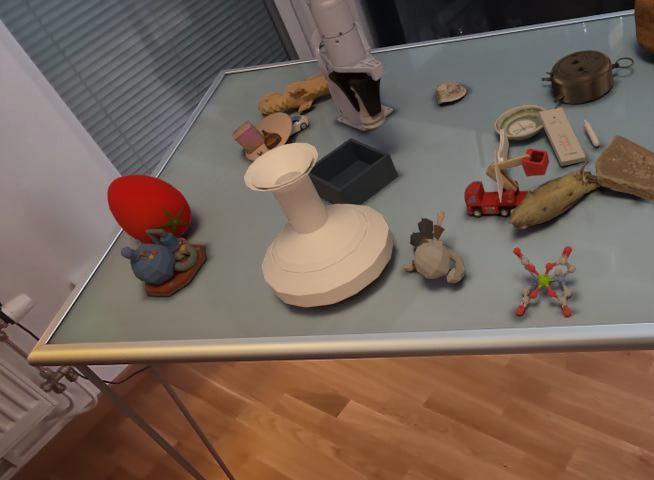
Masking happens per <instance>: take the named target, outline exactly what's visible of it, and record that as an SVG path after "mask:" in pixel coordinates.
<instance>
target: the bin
mask: <svg viewBox="0 0 654 480" xmlns="http://www.w3.org/2000/svg"><path fill="white" fill-rule="evenodd" d="M308 175H309V177H310V179H311V181H312V183H313V185H314V187H315V189H316V191H317V193H318V195H319V197H320V199H323V200H324V201H326V202H328V203H331V205H333V204H353V205H363V204H364V203H365V202H366V201H368V200H369V199H370V198H372V197H373V196H374V195H375V194H377V193H378V192H379V191H381V190H383V188H385V187H386V186H387V185H389V184H391V182H393V180H395V179H396V178H398V177H399V175H398V172H397V170H396V166H395V164H394V161H393V159H392V156H391V154H390V153H389V152H386V151H383V150H381V149H379V148H376V147H374V146H372V145H369V144H367V143H364V142H362V141H360V140H358V139H355V138H353V137H350V138H349V139H347V140H346V141H344V142H343V143H341V144H340V145H339V146H337V147H336V148H334V149H333V150H331V151H330V152H329V153H327V154H325V156H322V158H320V159H319V160H318V161H316V163H315V165H314V166H313V168H312V170H311V171H310V173H309V174H308Z"/></svg>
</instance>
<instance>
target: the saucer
mask: <svg viewBox="0 0 654 480" xmlns="http://www.w3.org/2000/svg"><path fill="white" fill-rule="evenodd" d="M546 110H547V109H546V108H545V107H543V106H540V105H538V104H537V105H536V104H523V105H518V106H515V107H512V108H509V109H507V110H506V111H504V112H502V113H501V114H499V116H498V117H497V118H496V119H495V121H494V123H493V130H494V132H495V133H496V134H497V135H498V136H500V130H501V129H505V131H506V134H507V138H508V140H510V141H511V140H512V141H525V140H528V139H530V138H533V136H536V135H537V134H538V133H539V132H541V131H542V130H543V129H544V127H543V125H542V123H541V120H540V118H539V112H541V111H546Z"/></svg>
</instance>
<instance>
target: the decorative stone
mask: <svg viewBox="0 0 654 480" xmlns="http://www.w3.org/2000/svg"><path fill="white" fill-rule="evenodd" d="M594 168H595V174H596V175H595V176H597V177H596V178H597V181H598V183H599V184H600V185H602V186H601V187H603V188H608V189H610V190H612V191H615V192H620V193H626V194H630V195H634V196H635V197H639V198H641V199H644V200H648V201H652V202H654V152H653V151H651V150H649V149H647V147H644V146H641V145H640V144H638V143H636V142H634V141H632V140H631V139H628V138H626V137H623V136H621V135H618V134H617V135H615V136H614V137H613V138H612V140H611V142H610V143H609V144H608V146H607V147H606V148H605V149H603V150H602V151H601V152H600V155H598V157H597V159H596V160H595V162H594Z"/></svg>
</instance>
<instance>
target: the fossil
mask: <svg viewBox="0 0 654 480" xmlns="http://www.w3.org/2000/svg"><path fill="white" fill-rule="evenodd" d="M434 93H435V98H436V99H437V103H438V105H441V104H442V103H447V102H453V101H456V100H459V99H461V98H462V97H464V96H465V95H466V94H467V88H465V87H464V86H462V85H461V84H460V83H459V82H454V81H447V82H442V83H440V84H438V85H437V86H435V87H434Z"/></svg>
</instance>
